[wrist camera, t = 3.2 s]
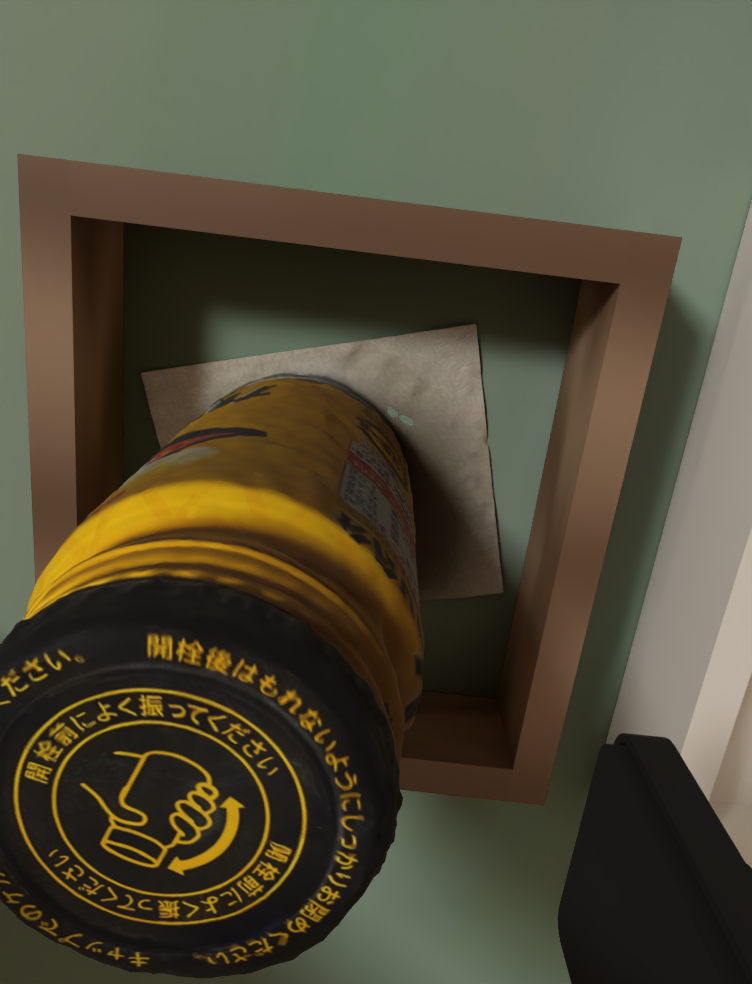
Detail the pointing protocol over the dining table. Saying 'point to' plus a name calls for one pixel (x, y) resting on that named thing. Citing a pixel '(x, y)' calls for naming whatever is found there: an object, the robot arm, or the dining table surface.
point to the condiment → (242, 655)
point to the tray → (706, 585)
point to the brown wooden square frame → (382, 230)
